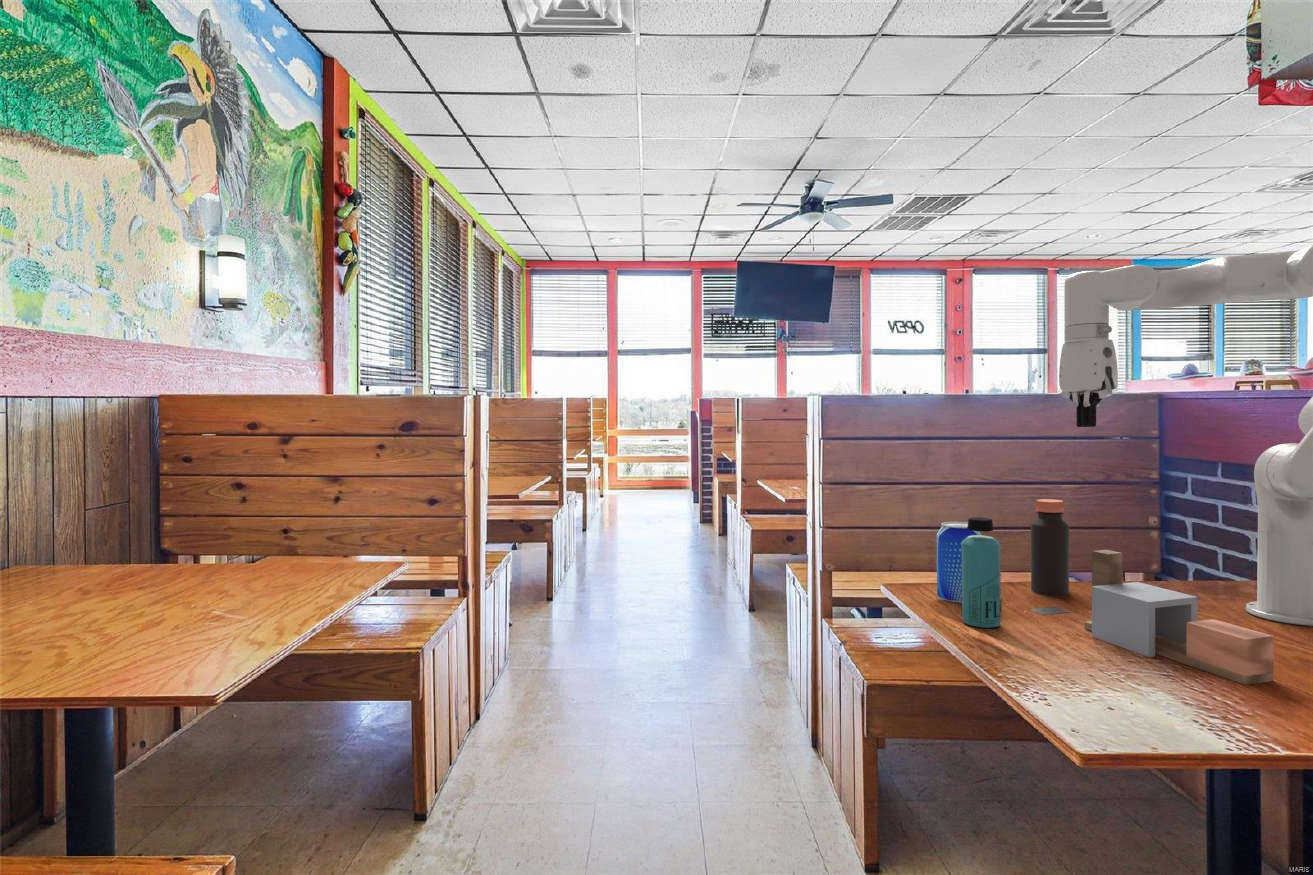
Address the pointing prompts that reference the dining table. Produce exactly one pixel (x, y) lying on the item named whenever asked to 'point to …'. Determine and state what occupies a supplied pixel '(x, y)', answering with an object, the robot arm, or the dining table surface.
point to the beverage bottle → (981, 576)
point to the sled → (1203, 637)
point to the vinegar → (1050, 549)
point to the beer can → (951, 559)
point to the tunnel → (1140, 615)
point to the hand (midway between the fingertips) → (1086, 426)
